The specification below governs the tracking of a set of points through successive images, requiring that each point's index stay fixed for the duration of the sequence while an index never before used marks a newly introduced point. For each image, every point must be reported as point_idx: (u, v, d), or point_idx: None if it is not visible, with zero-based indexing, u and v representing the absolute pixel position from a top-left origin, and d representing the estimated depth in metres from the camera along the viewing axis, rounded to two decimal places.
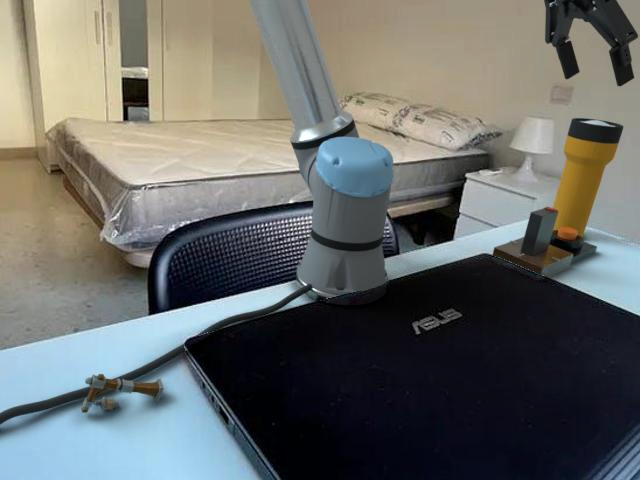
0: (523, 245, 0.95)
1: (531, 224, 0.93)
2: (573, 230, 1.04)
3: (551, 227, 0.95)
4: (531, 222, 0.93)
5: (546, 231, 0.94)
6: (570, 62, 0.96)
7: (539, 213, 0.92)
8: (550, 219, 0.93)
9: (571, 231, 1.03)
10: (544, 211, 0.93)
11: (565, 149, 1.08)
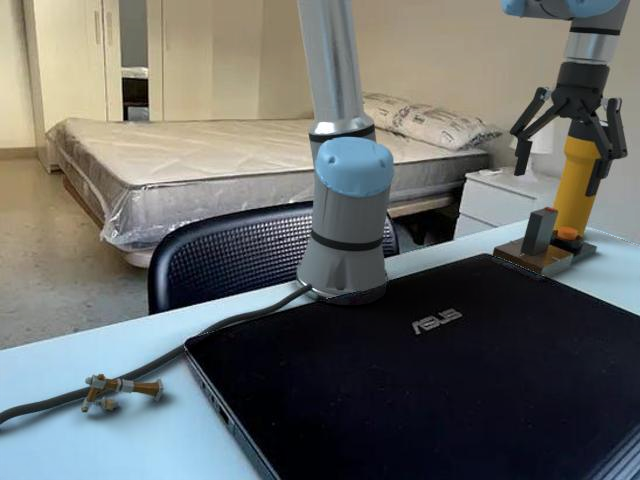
0: (523, 245, 0.95)
1: (531, 224, 0.93)
2: (573, 230, 1.04)
3: (551, 227, 0.95)
4: (531, 222, 0.93)
5: (546, 231, 0.94)
6: (524, 161, 0.95)
7: (539, 213, 0.92)
8: (550, 219, 0.93)
9: (571, 231, 1.03)
10: (544, 211, 0.93)
11: (565, 149, 1.08)
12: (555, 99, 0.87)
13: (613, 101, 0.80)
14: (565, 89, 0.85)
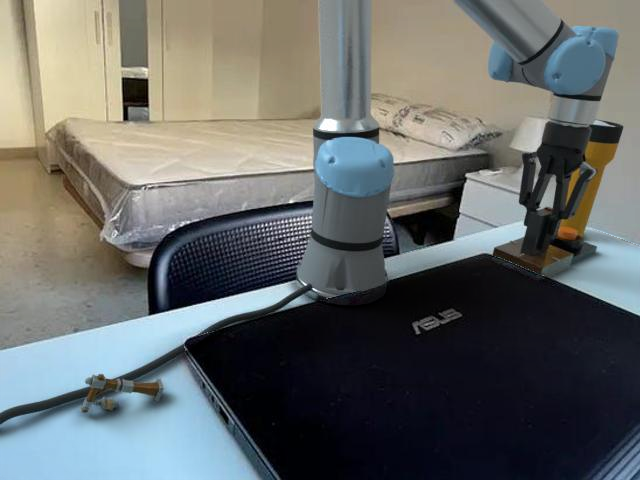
0: (523, 245, 0.95)
1: (531, 224, 0.93)
2: (573, 230, 1.04)
3: None
4: (531, 222, 0.93)
5: None
6: None
7: (539, 213, 0.92)
8: None
9: (571, 231, 1.03)
10: (544, 211, 0.93)
11: None
12: (540, 155, 0.91)
13: (589, 173, 0.85)
14: (549, 147, 0.89)
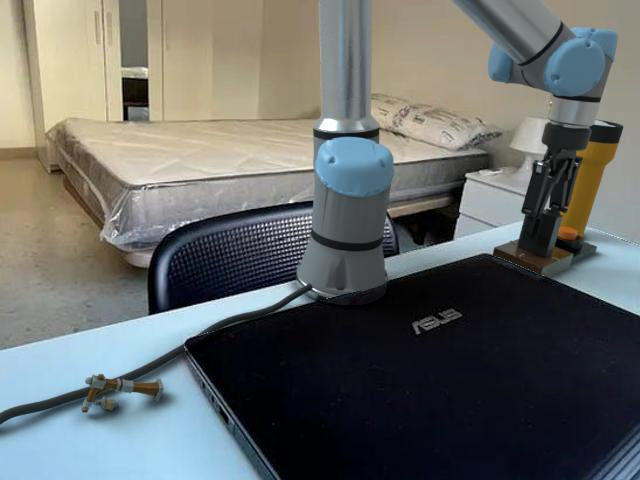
0: (548, 250, 0.93)
1: (555, 228, 0.92)
2: (573, 230, 1.04)
3: None
4: (556, 226, 0.92)
5: None
6: None
7: (556, 215, 0.92)
8: None
9: (571, 231, 1.03)
10: (544, 211, 0.93)
11: None
12: (556, 163, 0.87)
13: (581, 160, 0.92)
14: (562, 153, 0.87)
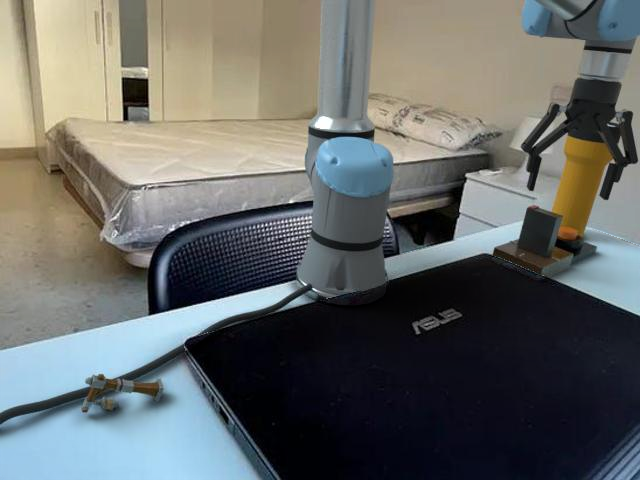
0: (548, 250, 0.93)
1: (555, 228, 0.92)
2: (573, 230, 1.04)
3: None
4: (556, 226, 0.92)
5: None
6: None
7: (556, 215, 0.92)
8: None
9: (571, 231, 1.03)
10: (544, 211, 0.93)
11: (565, 149, 1.08)
12: (573, 114, 0.90)
13: (631, 114, 0.88)
14: (583, 105, 0.89)
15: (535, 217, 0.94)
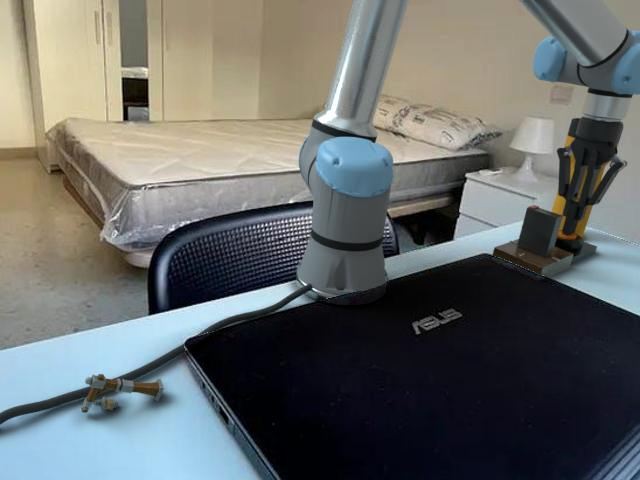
0: (548, 250, 0.93)
1: (555, 228, 0.92)
2: (572, 234, 1.04)
3: None
4: (556, 226, 0.92)
5: None
6: None
7: (556, 215, 0.92)
8: None
9: (569, 235, 1.03)
10: (544, 211, 0.93)
11: None
12: (574, 148, 0.99)
13: (619, 165, 0.93)
14: (583, 141, 0.97)
15: (535, 217, 0.94)
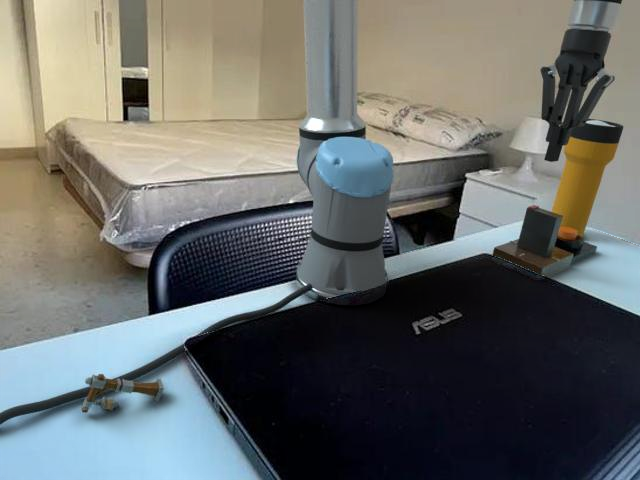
0: (548, 250, 0.93)
1: (555, 228, 0.92)
2: (573, 230, 1.04)
3: None
4: (556, 226, 0.92)
5: None
6: None
7: (556, 215, 0.92)
8: None
9: (571, 231, 1.03)
10: (544, 211, 0.93)
11: (565, 149, 1.08)
12: (559, 65, 0.92)
13: (606, 79, 0.86)
14: (568, 56, 0.90)
15: (535, 217, 0.94)
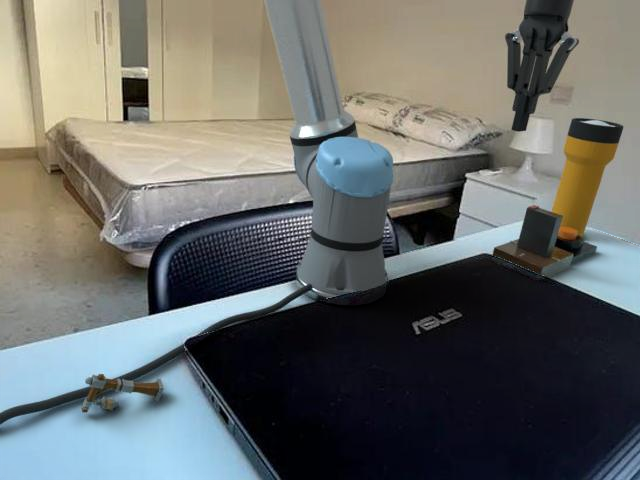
0: (548, 250, 0.93)
1: (555, 228, 0.92)
2: (573, 230, 1.04)
3: None
4: (556, 226, 0.92)
5: None
6: None
7: (556, 215, 0.92)
8: None
9: (571, 231, 1.03)
10: (544, 211, 0.93)
11: (565, 149, 1.08)
12: (523, 31, 0.89)
13: (569, 42, 0.83)
14: (531, 20, 0.87)
15: (535, 217, 0.94)
